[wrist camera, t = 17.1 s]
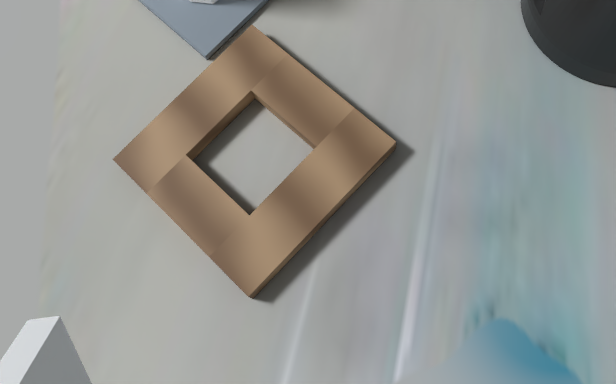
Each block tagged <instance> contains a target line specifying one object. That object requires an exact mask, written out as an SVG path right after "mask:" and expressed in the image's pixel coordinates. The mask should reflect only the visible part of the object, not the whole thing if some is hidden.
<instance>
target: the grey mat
mask: <svg viewBox="0 0 616 384" xmlns="http://www.w3.org/2000/svg"><path fill="white" fill-rule="evenodd" d="M139 1H140V2H141V3H142V4H143V5H144V6H146V7H147V8H148V9H149V10H150V11H151V12H152V13H154V14H155V15H156V16H157V17H158V18H159V19H161V20H162V21H163V22H164V23H165V24H166V25H167V26H169V27H170V28H171V29H172V30H173V31H174V32H176V33H177V34H178V35H179V36H180V37H181V38H182V39H184V40H185V41H186V42H187V43H188V44H189V45H191V46H192V47H193V48H194V49H195V50H196V51H197V52H199V53H200V54H201V55H202V56H203V57H204V58H206V59H207V60H208V59H209V58H210V57H211V56H212V55H213V54H214V53H215V52H216V51H217V50H218V49H219V48H220V47H221V46H222V45H223V44H224V43H225V42H226V41H227V40H228V39H229V38H230V37H231V36H232V35H234V34H235V33H236V32H237V31H238V30H239V29H240V28H241V27H242V26H243V25H244V24H245V23H246V22H247V21H248V20H249V19H250V18H251V17H252V16H253V15H254V14H255V13H256V12H257V11H258V10H259V9H260V8H261V7H262V6H264V5H265V4H266V3H267V2H268V1H269V0H218V1H217V2H215V3H214V4H208V3H198V2H190V1H189V0H139Z"/></svg>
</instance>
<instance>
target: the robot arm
mask: <svg viewBox="0 0 616 384" xmlns="http://www.w3.org/2000/svg"><path fill="white" fill-rule="evenodd" d="M521 9H522V15H523V19H524V22H525V25H526V27H527V30H528V32H529V34H530V36H531V37H532V39H533V40H534V42H535V43H536V45H537V46H538V47H539V49H540V50H541V51H542V52H543V53H544V54H545V55H546V56H547V57H548V58H549V59H550V60H552V61H553V62H554V63H555V64H557V65H558V66H559V67H561V68H563V69H564V70H566V71H568V72H569V73H571V74H573V75H575V76H577V77H580V78H582V79H585V80H588V81H591V82H594V83H598V84H603V85H608V86H616V0H521ZM0 384H92V383H91V381H90V379H89V377H88V375H87V373H86V371H85V368H84V366H83V364H82V362H81V360H80V358H79V356H78V353H77V351H76V349H75V347H74V345H73V343H72V341H71V339H70V336H69V334H68V332H67V330H66V328H65V326H64V324H63V322H62V319H61V317H60V316H55V317H47V318H39V319H31V320H28V321H27V322H26V324H25V325H24V327H23V328H22V330H21V331H20V333H19V334H18V336H17V337H16V339H15V340H14V342H13V343H12V345H11V346H10V348H9V349H8V351H7V352H6V354H5V355H4V357H3V358H2V360H1V361H0Z"/></svg>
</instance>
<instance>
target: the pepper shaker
mask: <svg viewBox="0 0 616 384" xmlns="http://www.w3.org/2000/svg"><path fill="white" fill-rule="evenodd" d="M189 1H190V2H198V3H208V4H214V3H215V2H217V1H218V0H189Z"/></svg>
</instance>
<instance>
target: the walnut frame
mask: <svg viewBox="0 0 616 384" xmlns="http://www.w3.org/2000/svg"><path fill="white" fill-rule="evenodd" d="M254 99H256V100H258V101H259V102H260V103H261V104H262V105H263V106H265V107H266V108H267V109H268V110H269V111H270V112H272V113H273V114H274V115H275V116H276V117H277V118H278V119H280V120H281V121H282V122H283V123H284V124H285V125H287V126H288V127H289V128H290V129H291V130H292V131H293V132H295V133H296V134H297V135H298V136H299V137H300V138H302V139H303V140H304V141H305V142H306V143H307V144H309V145H310V146H311V147H312V148H313V149H314V150H313V151H312V152H311V153H310V154H309V155H308V156H307V157H306V158H305V159H304V160H303V161H302V162H301V163H300V164H299V165H298V166H297V167H296V168H295V169H294V170H293V171H292V172H291V173H290V174H289V175H288V177H287V178H286V179H285V180H284V181H283V182H282V183H281V184H280V185H279V186H278V187H277V188H276V189H275V190H274V191H273V192H272V193H271V194H270V195H269V196H268V197H267V198H266V199H265V200H264V201H263V202H262V203H261V204H260V205H259V206H258V207H257V208H256V209H255V210H254V211H253V212H252V213H251V214H250V215H248V214H247V213H246V212H245V211H244V210H243V209H242V208H241V207H240V206H239V205H238V204H237V203H236V202H235V201H234V200H233V199H232V198H230V197H229V196H228V195H227V194H226V193H225V192H224V191H223V190H222V189H221V188H220V187H219V186H218V185H217V184H216V183H215V182H214V181H213V180H212V179H211V178H209V177H208V176H207V175H206V174H205V173H204V172H203V171H202V170H201V169H200V168H199V167H198V166H197V165H196V164H195V163H194V162H193V161H192V160H193V159H194V158H195V157H196V156H197V155H198V154H199V153H200V152H201V151H202V150H203V149H204V148H205V147H206V146H207V145H208V144H209V143H210V142H211V141H212V140H213V139H214V138H215V137H216V136H217V135H218V134H219V133H220V132H222V131H223V130H224V129H225V128H226V127H227V126H228V125H229V124H230V123H231V122H232V121H233V120H234V119H235V118H236V117H237V116H238V115H239V114H240V113H241V112H242V111H243V110H244V109H245V108H246V107H247V106H248V105H249V104H250V103H251V102H252V101H253V100H254ZM395 149H396V141H395V140H393V139H392V138H391V137H390V136H389V135H387V134H386V133H385V132H384V131H382V130H381V129H380V128H379V127H377V126H376V125H375V124H374V123H373V122H371V121H370V120H369V119H368V118H366V117H365V116H364V115H363V114H361V113H360V112H359V111H358V110H357V109H355V108H354V107H353V106H352V105H350V104H349V103H348V102H347V101H345V100H344V99H343V98H342V97H341V96H339V95H338V94H337V93H336V92H334V91H333V90H332V89H331V88H329V87H328V86H327V85H326V84H325V83H323V82H322V81H321V80H320V79H318V78H317V77H316V76H315V75H313V74H312V73H311V72H310V71H309V70H307V69H306V68H305V67H304V66H302V65H301V64H300V63H299V62H297V61H296V60H295V59H294V58H293V57H291V56H290V55H289V54H288V53H286V52H285V51H284V50H283V49H281V48H280V47H279V46H278V45H277V44H275V43H274V42H273V41H272V40H270V39H269V38H268V37H267V36H266V35H264V34H263V33H262V32H261V31H259V30H258V29H257V28H256V27H254V26H253V25H251V26H250V27H249V28H248V29H247V30H246V31H245V32H244V33H243V34H242V35H240V36H239V37H238V38H237V39H236V40H235V41H234V42H233V43H232V44H231V45H230V46H229V47H228V48H227V49H226V50H225V51H224V52H223V53H222V54H221V55H220V56H219V57H218V58H217V59H216V60H215V61H214V62H213V63H212V64H211V65H210V66H208V67H207V68H206V69H205V70H204V71H203V72H202V73H201V74H200V75H199V76H198V77H197V78H196V79H195V80H194V81H193V82H192V83H191V84H190V85H189V86H188V87H187V88H186V89H185V90H184V91H183V92H182V93H181V94H180V95H179V96H178V97H176V98H175V99H174V100H173V101H172V102H171V103H170V104H169V105H168V106H167V107H166V108H165V109H164V110H163V111H162V112H161V113H160V114H159V115H158V116H157V117H156V118H155V119H154V120H153V121H152V122H151V123H150V124H149V125H148V126H147V127H146V128H144V129H143V130H142V131H141V132H140V133H139V134H138V135H137V136H136V137H135V138H134V139H133V140H132V141H131V142H130V143H129V144H128V145H127V146H126V147H125V148H124V149H123V150H122V151H121V152H120V153H119V154H118V155H117V156H116V157H115V158H114V159H113V160H114V161H115V162H116V163H117V164H118V165H119V166H120V167H121V168H122V169H123V170H124V171H125V172H126V173H127V174H128V175H129V176H130V177H131V178H132V179H133V180H134V181H135V182H136V183H137V184H138V185H139V186H140V187H141V188H142V189H143V190H144V192H145V193H146V194H147V195H148V196H149V197H150V198H151V199H152V200H153V201H154V202H155V203H156V204H157V205H158V206H159V207H160V208H161V209H162V210H163V211H164V212H165V213H166V214H167V215H168V216H169V217H170V218H171V219H172V220H173V221H174V222H175V223H176V224H177V225H178V226H179V227H180V228H181V229H182V230H183V231H184V232H185V233H186V234H187V235H188V236H189V237H190V238H191V239H192V240H193V241H194V242H195V243H196V244H197V245H198V246H199V247H200V248H201V249H202V250H203V251H204V252H205V253H206V254H207V255H208V256H209V257H210V258H211V259H212V260H213V261H214V262H215V263H216V264H217V265H218V266H219V267H220V268H221V270H222V271H223V272H224V273H225V274H226V275H227V276H228V277H229V278H230V279H231V280H232V281H233V282H234V283H235V284H236V285H237V286H238V287H239V288H240V289H241V290H242V291H243V292H244V293H245V294H246V295H247V296H248V297H250V298H252V299H253V298H254V297H255V296H256V295H257V294H258V293H259V292H260V291H261V290H262V289H263V288H264V287H265V286H266V285H267V284H268V282H269V281H270V280H271V279H272V278H273V277H274V276H275V275H276V274H277V273H278V272H279V271H280V270H281V269H282V268H283V267H284V266H285V265H286V264H287V263H288V261H289V260H290V259H291V258H292V257H293V256H294V255H295V254H296V253H297V252H298V251H299V250H300V249H301V248H302V247H303V246H304V245H305V244H306V243H307V241H308V240H309V239H310V238H311V237H312V236H313V235H314V234H315V233H316V232H317V231H318V230H319V229H320V228H321V227H322V226H323V225H324V224H325V223H326V222H327V220H328V219H329V218H330V217H331V216H332V215H333V214H334V213H335V212H336V211H337V210H338V209H339V208H340V207H341V206H342V205H343V204H344V203H345V202H346V201H347V199H348V198H349V197H350V196H351V195H352V194H353V193H354V192H355V191H356V190H357V189H358V188H359V187H360V186H361V185H362V184H363V183H364V182H365V181H366V179H367V178H368V177H369V176H370V175H371V174H372V173H373V172H374V171H375V170H376V169H377V168H378V167H379V166H380V165H381V164H382V163H383V162H384V161H385V160H386V158H387V157H388V156H389V155H390V154H391V153H392V152H393V151H394V150H395Z"/></svg>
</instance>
